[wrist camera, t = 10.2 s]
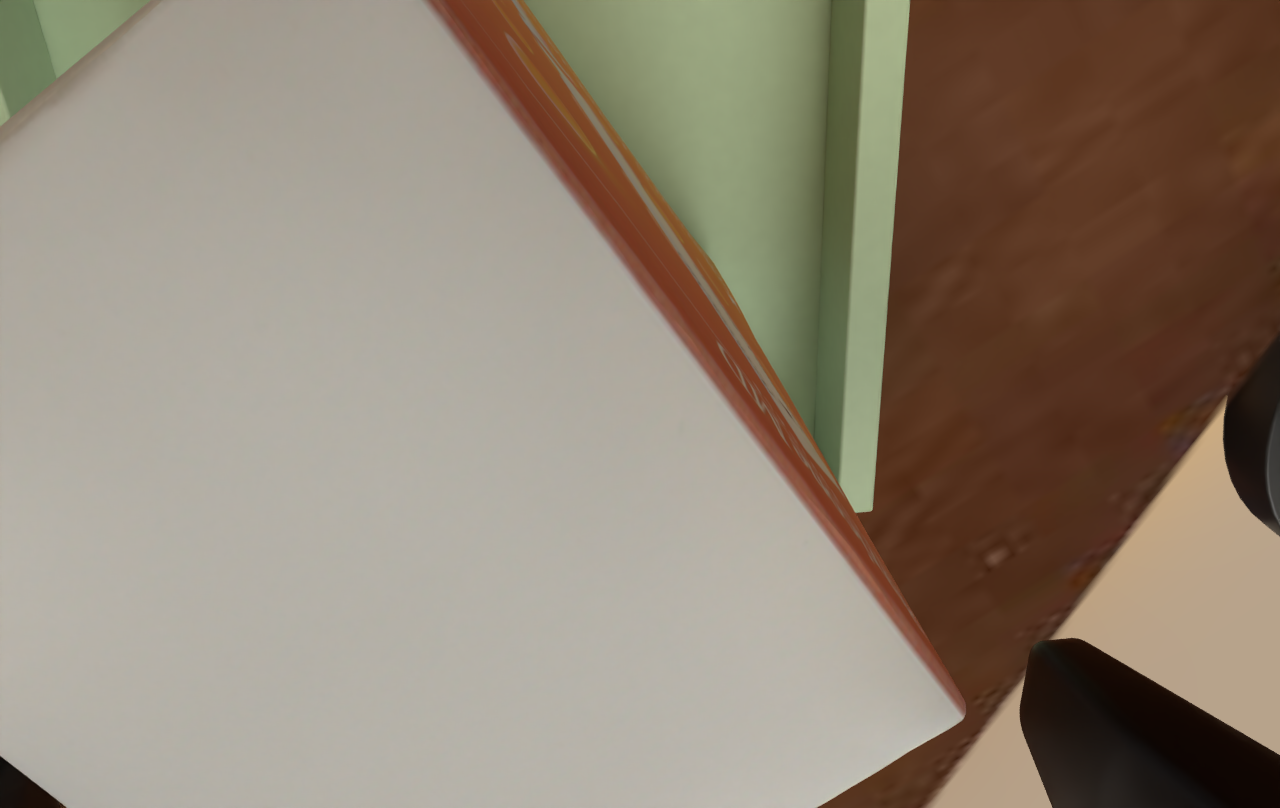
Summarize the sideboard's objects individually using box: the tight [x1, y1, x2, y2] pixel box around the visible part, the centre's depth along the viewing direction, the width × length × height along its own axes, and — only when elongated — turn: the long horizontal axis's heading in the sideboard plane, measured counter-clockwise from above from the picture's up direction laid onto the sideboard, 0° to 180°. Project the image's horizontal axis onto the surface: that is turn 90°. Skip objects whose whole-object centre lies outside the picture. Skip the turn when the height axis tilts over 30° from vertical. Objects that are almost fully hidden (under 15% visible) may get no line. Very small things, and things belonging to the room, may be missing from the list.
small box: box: [0, 0, 966, 808], centre depth 13 cm, size 8×6×13 cm
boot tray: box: [0, 0, 910, 513], centre depth 18 cm, size 16×14×3 cm
